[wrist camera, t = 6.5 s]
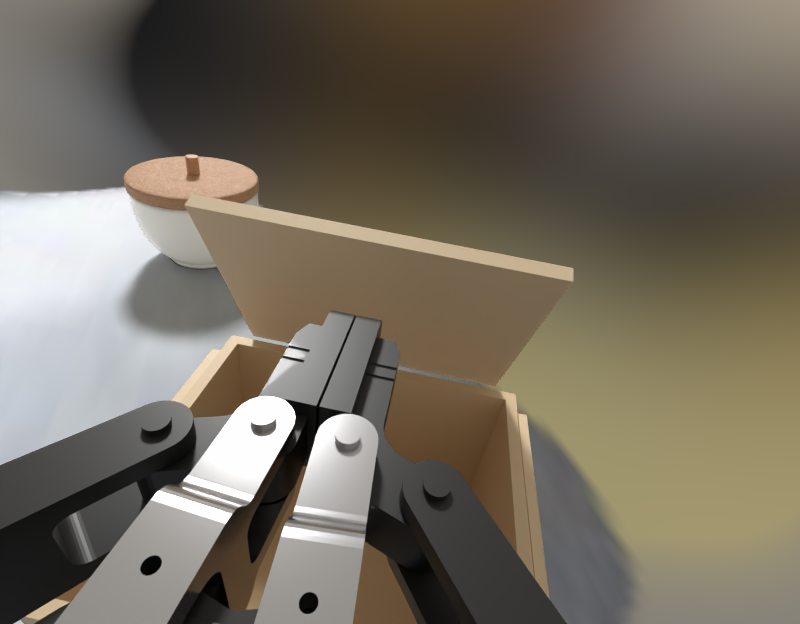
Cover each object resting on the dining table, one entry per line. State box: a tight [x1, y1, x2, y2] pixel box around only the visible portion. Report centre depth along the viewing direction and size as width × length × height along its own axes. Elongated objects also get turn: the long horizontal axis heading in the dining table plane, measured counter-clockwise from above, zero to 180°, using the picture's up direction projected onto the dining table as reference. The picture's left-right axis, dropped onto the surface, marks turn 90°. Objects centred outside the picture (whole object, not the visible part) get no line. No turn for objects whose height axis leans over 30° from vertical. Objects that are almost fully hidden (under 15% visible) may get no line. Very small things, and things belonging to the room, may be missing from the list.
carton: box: [20, 335, 549, 624], centre depth 18 cm, size 15×13×8 cm
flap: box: [184, 194, 573, 386], centre depth 17 cm, size 12×1×9 cm, turn 82°
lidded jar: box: [123, 155, 259, 269], centre depth 39 cm, size 11×11×9 cm
